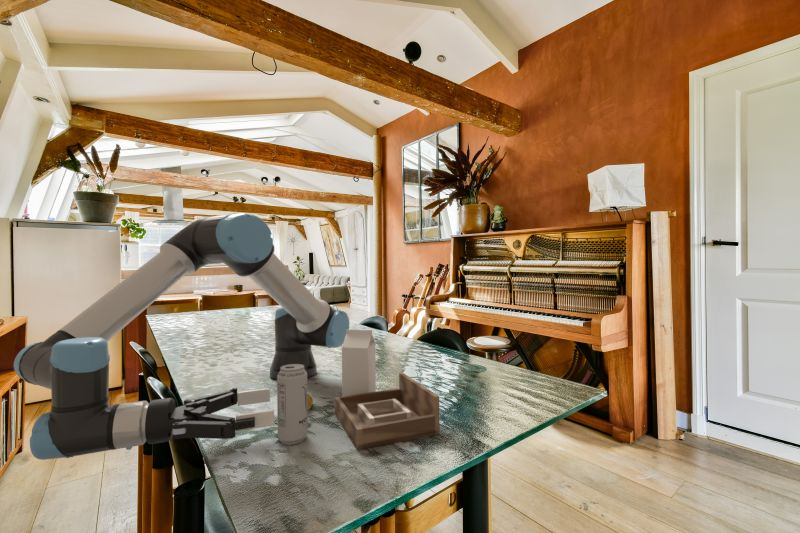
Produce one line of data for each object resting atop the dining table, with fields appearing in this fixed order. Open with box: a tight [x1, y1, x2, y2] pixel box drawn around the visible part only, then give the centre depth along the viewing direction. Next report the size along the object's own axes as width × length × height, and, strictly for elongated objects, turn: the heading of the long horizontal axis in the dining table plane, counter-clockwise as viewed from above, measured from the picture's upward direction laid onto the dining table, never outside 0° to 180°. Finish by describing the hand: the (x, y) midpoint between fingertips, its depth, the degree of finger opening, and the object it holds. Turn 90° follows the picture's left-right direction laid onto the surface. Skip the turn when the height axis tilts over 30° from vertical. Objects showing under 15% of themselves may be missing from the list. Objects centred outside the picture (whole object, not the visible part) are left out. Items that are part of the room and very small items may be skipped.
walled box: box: [334, 372, 440, 451], centre depth 86 cm, size 20×18×8 cm
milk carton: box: [341, 329, 377, 396], centre depth 100 cm, size 7×7×19 cm
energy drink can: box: [276, 364, 309, 446], centre depth 78 cm, size 6×6×15 cm
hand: (272, 405), depth 76 cm, fingers open, 13 cm apart
